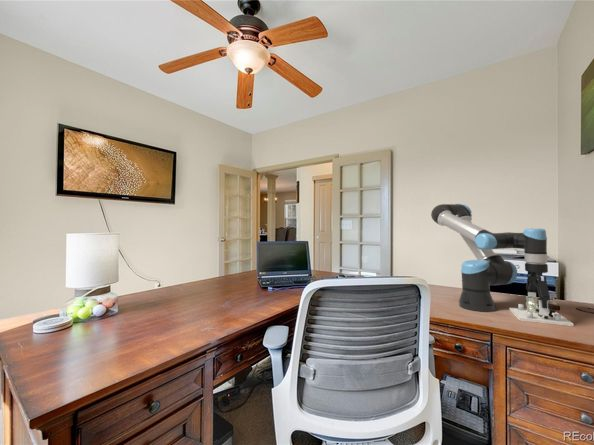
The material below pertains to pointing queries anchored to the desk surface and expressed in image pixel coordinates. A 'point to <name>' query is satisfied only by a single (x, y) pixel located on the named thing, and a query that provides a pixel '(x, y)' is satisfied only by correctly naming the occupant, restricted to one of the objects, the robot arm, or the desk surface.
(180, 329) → the desk surface
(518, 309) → the mounting plate
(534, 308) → the valve
